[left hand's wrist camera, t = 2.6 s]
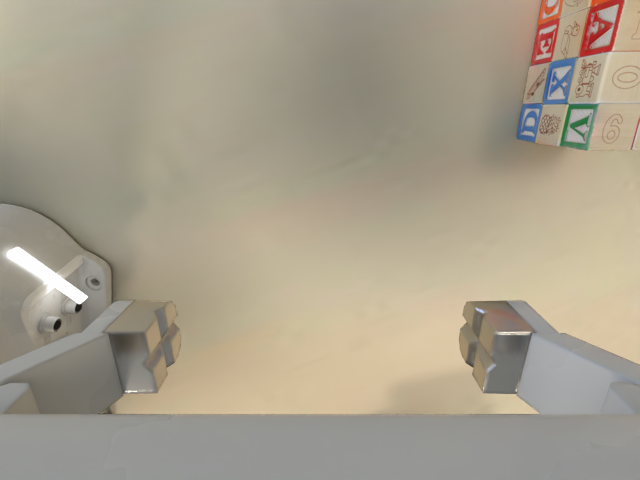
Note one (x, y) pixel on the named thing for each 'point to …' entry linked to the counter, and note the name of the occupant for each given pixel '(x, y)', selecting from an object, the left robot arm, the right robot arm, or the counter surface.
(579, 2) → the stack of blocks
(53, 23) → the counter surface
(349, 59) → the counter surface
